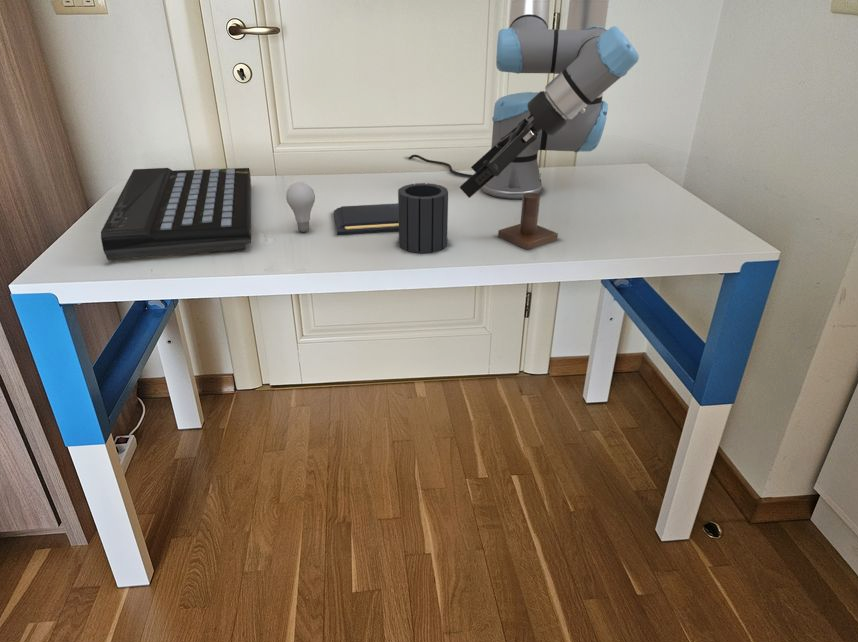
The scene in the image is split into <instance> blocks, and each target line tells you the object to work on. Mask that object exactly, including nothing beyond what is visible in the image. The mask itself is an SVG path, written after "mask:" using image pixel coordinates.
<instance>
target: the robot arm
mask: <svg viewBox="0 0 858 642" xmlns="http://www.w3.org/2000/svg"><path fill="white" fill-rule="evenodd" d="M550 1H551V0H510V10H509V20H508V21H509V22H508V27H507V28H501V29H500V30H499V31H498V34H497V41H496V56H495V57H496V58H495V61H496V62H495V65H496V69H497V70H498V71H499V72H502V73H511V74H512V73H514V74H517V75H518V74H554V75H556V76H555V77H554V78H552V80H551V81H549V82H548V84H546V85H545V87H544V90H545V91H544V90H542V91H541V90H540V91H539V92H537V91H536V92H532V91H526V92H525V91H524V92H517V93H511V94H506V95H504V96H500V97H499V98H497V100H496V101H495V103H494V105H493V106H494V107H493V116H492V117H491V121H492V135H491V148H490V149H488V151H487V152H486V153H485V154H483V156H481V157H480V158H479V159H478V160H477V161H476V162H475V163H474V164H473V165H471V167H470V169H472V170H473V172H474V173H473V174H469V173H463V172H459V171H456V170H454V169H453V168H452V165H451V164H450V163H447V162H444V161H439V160H432V159H428V158H425V157H423V156H421V155H418V154H411V155H410V156H409V157H408V160H411V159H413V158H417V159H419V160H421V161H423V162H427V163H430V164H437V165H443V166H445V167H448V168H449V172H450V173H452V174H453V175H457V176H461V177H467V178H468V179H466V181H465V182H463V183H462V184H461V185H460V186H459V189H460V190H461V191H462V192H463V193H464V194H465V195H466V196H467V198H468V199H470V198H472V196H474V195H475V194H476V193H477V192H479V190H482V191H483V193H485V194H487V195H489V196H492V197H495V198H499V199H510V200H522V199H523V194H525V193H536V194H539V195H541V193H542V188H543V182H542V179H541V176H542V172H540V168H539V164H538V154H539V151H555V152H574V153H579V152H580V153H581V152H592V151H594V150H596V148H597V147H598V145H599V143H600V142H601V139H602V136H603V133H604V130H605V126H606V121H607V114H608V111H609V110H608V109H609V106H608V105H609V104H608V103H607V101H605V100H603V96H604V92H606V91H607V90H608V89H609V88H611V87H612V86H613V85H614V84H615V83H616V82H617V81H619V80H620V79H621V78H622V77H624V76H626V75H627V74H628V72H629V71H630V70H632V68H633V67H634V66H635V65H636V64H637V63H638V62H639V59H640V55H639V53H638V51H637V50H636V48H635V47H634V46H633V44H632V42H631V41H630V40H629V39H628V37H627V36H626V35H625V34H624V31H622V30H621V29H620V28H619V27H618V26H615V25H614V26H611V27H610V28H609V29H606V26H607V25H606V24H607V17H608V11H609V2H610V0H568V10H567V18H566V29H553V28H549V23H550Z"/></svg>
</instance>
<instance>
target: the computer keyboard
mask: <svg viewBox="0 0 858 642" xmlns="http://www.w3.org/2000/svg"><path fill="white" fill-rule="evenodd" d="M251 193H252V178H251V170H250V168H249V167H227V168H207V169H180V170H178V169H177V170H173V169H171V168H169V167H157V168H155V167H154V168H153V167H152V168H134V169H132V171H131V174H130V175H129V177H128V179H127V181H126V183H125V185H124V187H123V188H122V190H121V193H120V195H119V197H118V198H117V200H116V202H115V204H114V206H113V208H112V209H111V211H110V214H109V215H108V217H107V219H106V221H105V223H104V225H103V227H102V228H101V231H100V241H101V246H102V251H103V253H104V255H105V257H106V259H107V261H111V260H113V261H115V260H125V259H126V260H127V259H137V258H150V257H161V256H162V257H164V256H172V255H186V254H197V253H209V252H210V253H212V252H223V251H233V250H234V251H235V250H245V249H246V244H251V243H252V206H251V205H252V194H251Z"/></svg>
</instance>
